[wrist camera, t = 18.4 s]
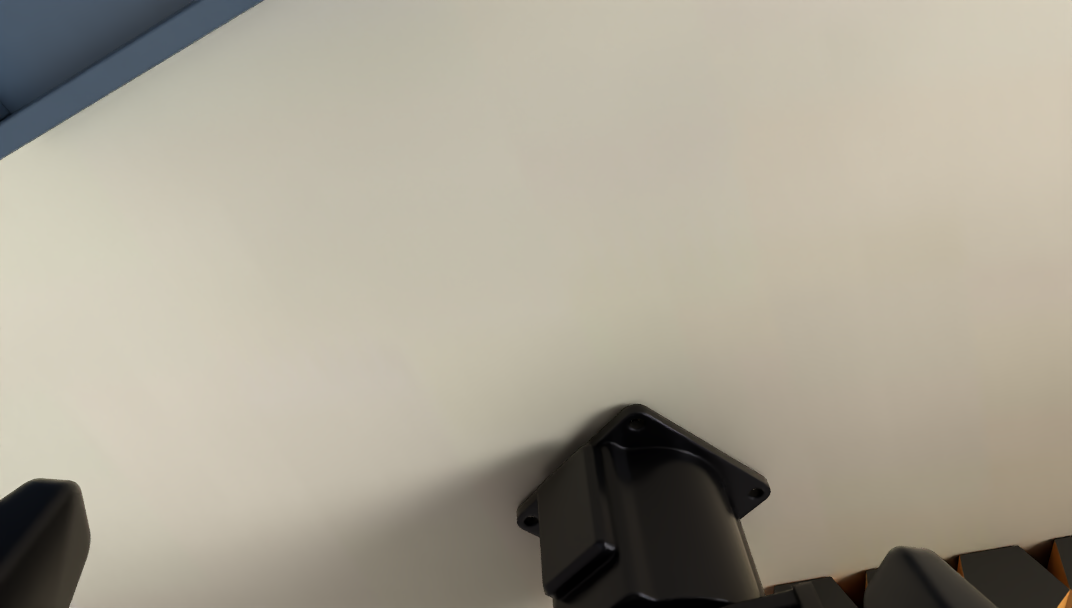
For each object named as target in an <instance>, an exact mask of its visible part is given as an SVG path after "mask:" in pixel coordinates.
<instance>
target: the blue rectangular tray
mask: <svg viewBox="0 0 1072 608" xmlns="http://www.w3.org/2000/svg"><path fill="white" fill-rule="evenodd" d="M262 1H264V0H0V160H1V159H3V158H4V157H6V156H8V155H9V154H11V153H13V152H14V151H16V150H18V149H19V148H21V147H23V146H24V145H26V144H28V143H29V142H31V141H32V140H34V139H36V138H37V137H39V136H41V135H42V134H44V133H46V132H47V131H49V130H51V129H52V128H54V127H56V126H57V125H59V124H61V123H62V122H64V121H65V120H67V119H69V118H70V117H72V116H74V115H75V114H77V113H79V112H80V111H82V110H84V109H85V108H87V107H89V106H90V105H92V104H94V103H95V102H97V101H99V100H100V99H102V98H103V97H105V96H107V95H108V94H110V93H112V92H113V91H115V90H117V89H118V88H120V87H122V86H123V85H125V84H127V83H128V82H130V81H132V80H133V79H135V78H136V77H138V76H140V75H141V74H143V73H145V72H146V71H148V70H150V69H151V68H153V67H155V66H156V65H158V64H160V63H161V62H163V61H165V60H166V59H168V58H169V57H171V56H173V55H174V54H176V53H178V52H179V51H181V50H183V49H184V48H186V47H188V46H189V45H191V44H193V43H194V42H196V41H198V40H199V39H201V38H203V37H204V36H206V35H207V34H209V33H211V32H212V31H214V30H216V29H217V28H219V27H221V26H222V25H224V24H226V23H227V22H229V21H231V20H232V19H234V18H236V17H237V16H239V15H240V14H242V13H244V12H245V11H247V10H249V9H250V8H252V7H254V6H255V5H257V4H259V3H260V2H262Z"/></svg>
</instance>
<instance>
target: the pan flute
mask: <svg viewBox="0 0 1072 608" xmlns="http://www.w3.org/2000/svg"><path fill="white" fill-rule="evenodd" d="M876 571H877V569H874V570H869V571H866V585H865V589H866V587H867V585H868V583H869V582H870V580H871V579H872V577H873V576H874V574H875V573H876ZM957 572H958V573H959V574H960V575H961V576H962V577H963V578H964V579H966V580H967V581H968V582H969V583H970V584H971V585H972V586H974V587H975V588H976V589H977V590H978V591H979V592H980V593H982V594H983V595H984V596H985V597H986V598H987V599H989V600H990V601H991V602H992V603H993V604H994V605H995V606H997V607H998V608H1072V537H1066V538H1060V539H1055V540H1054V544H1053V548H1052V551H1051V555H1050V559H1049V563H1048V567H1047V570H1046V569H1045V568H1044V567H1043V566H1042V565H1041V564H1039V563H1038V562H1037V561H1036V560H1035V559H1033V558H1032V557H1031V556H1030V555H1029V554H1028V553H1026V552H1025V551H1024V550H1023V549H1022V548H1020V547H1019V546H1012V547H1006V548H1000V549H994V550H988V551H982V552H976V553H970V554H964V555H960V556H959V562H958V568H957ZM809 581H811V582H812V584H813V586H814V588H815V590H816V593H817V595H818V597H819V599H820V601H821V603H822V606H823V608H858V607H857V606H856V605H855V604H854V603H853V601H852V600H851V599H850V598H849V597H848V596H847V595H846V593H845V592H844V591H843V590H842V589H841V588H840V586H839V585H838V584H837V583H836V582H835V581H834V580H833V578H832V577H827V578H821V579H815V580H809ZM809 581H803V582H797V583H791V584H785V585H779V586H775V588H774V593H778V592H783V591H787V590H791V589H792V586H793V585H797V584H801V583H805V582H809Z"/></svg>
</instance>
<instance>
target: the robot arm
mask: <svg viewBox="0 0 1072 608" xmlns="http://www.w3.org/2000/svg"><path fill="white" fill-rule="evenodd" d="M637 418H639V419H641V420H639V421H637V422H632V420H633V419H637ZM755 488H756V489H755ZM753 489H754V490H753ZM770 492H771V491H770V487H769V485H768V482H767V480H766V478H765V477H764V476H762V475H760V474H759V473H757V472H755V471H754V470H752V469H750V468H749V467H747V466H745V465H743V464H742V463H740V462H738V461H737V460H735V459H733V458H732V457H730V456H728V455H727V454H725V453H723V452H722V451H720V450H718V449H717V448H715V447H713V446H712V445H710V444H708V443H707V442H705V441H703V440H701V439H700V438H698V437H696V436H695V435H693V434H691V433H690V432H688V431H686V430H685V429H683V428H681V427H680V426H678V425H676V424H675V423H673V422H671V421H670V420H668V419H666V418H664V417H663V416H661V415H659V414H658V413H656V412H654V411H653V410H651V409H649V408H648V407H646V406H644V405H641V404H633V405H630V406H627V407H626V408H624V409H623V410H622V411H621V412H620V413H619V414H618V415H617V416H615V417H614V418H613V419H612V420H611V421H610V422H609V423H608V424H607V425H606V426H605V427H604V428H603V429H602V430H601V431H600V432H598V433H597V434H596V435H595V436H594V437H593V438H592V439H591V440H590V441H589V442H588V443H587V444H586V445H584V446H582V447H581V448H579V449H578V450H577V451H576V452H575V453H574V454H573V455H572V456H571V457H570V458H569V459H568V460H567V461H566V462H565V463H564V464H562V465H561V466H560V467H559V468H558V469H557V470H556V471H555V472H554V473H553V474H552V475H551V476H550V477H549V478H548V479H546V480H545V481H544V482H543V483H542V484H541V485H540V486H539V487H538V489H537V491H536V492H535V493H533V494H532V495H531V496H530V497H529V498H528V499H527V500H526V501H525V502H524V503H523V504H522V505H521V506H520V507H519V508H518V509H517V524H518V526H519V527H520V528H522V529H523V530H525V531H527V532H529V533H532V534H534V535H536V536H538V537H540V547H541V563H542V579H543V588H544V592H545V595H547V596H550V597H552V598H553V608H823V606H822V603H821V601H820V599H819V597H818V595H817V593H816V590H815V588H814V586H813V584H812V582H811V581H809V582H805V583H801V584H797V585H793V586H792V589H791V590H787V591H783V592H778V593H774V594H770V595H766V596H765V593H764V590H763V587H762V584H761V581H760V578H759V575H758V572H757V570H756V567H755V564H754V561H753V558H752V555H751V552H750V549H749V546H748V543H747V540H746V537H745V534H744V531H743V528H742V525H741V522H740V519H741V518H742V517H744V516H745V515H746V514H748V513H749V512H750V511H751V510H753V509H754V508H755V507H757V506H758V505H759V504H760V503H762V502H763V501H764V500H766V499H767V498H768V497H769V495H770ZM530 516H534V517H530ZM90 536H91V535H90V529H89V524H88V519H87V515H86V510H85V505H84V501H83V496H82V492H81V489H80V487H79V485H78V484H77V483H76V482H73V481H70V480H57V479H45V478H37V479H33V480H31V481H28V482H26V483H25V484H23V485H21V486H20V487H19V488H17V489H16V490H14V491H13V492H11V493H10V494H9V495H7V496H6V497H4V498H3V499H1V500H0V608H69V606H70V603H71V601H72V598H73V595H74V592H75V590H76V587H77V584H78V581H79V578H80V576H81V573H82V570H83V567H84V565H85V562H86V559H87V556H88V552H89V548H90ZM864 608H998V607H997V606H995V605H994V604H993V603H992V602H991V601H990V600H989V599H987V598H986V597H985V596H984V595H983V594H982V593H980V592H979V591H978V590H977V589H976V588H975V587H974V586H972V585H971V584H970V583H969V582H968V581H967V580H966V579H964V578H963V577H962V576H961V575H960V574H959V573H958V572H956V571H955V570H954V569H953V568H952V567H951V566H950V565H948V564H947V563H946V562H945V561H944V560H943V559H942V558H940V557H939V556H938V555H937V554H935V553H934V552H933V551H931V550H928V549H925V548H916V547H904V546H898V547H895V548H893V549H891V550H890V551H889V552H888V554H887V555H886V557H885V558H884V560H883V562H882V563H881V565H880V566H879V568H878V569H877V571H876V573H875V574H874V576H873V577H872V579H871V580H870V582H869V583H868V585H867V587H866V589H865V593H864Z"/></svg>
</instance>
